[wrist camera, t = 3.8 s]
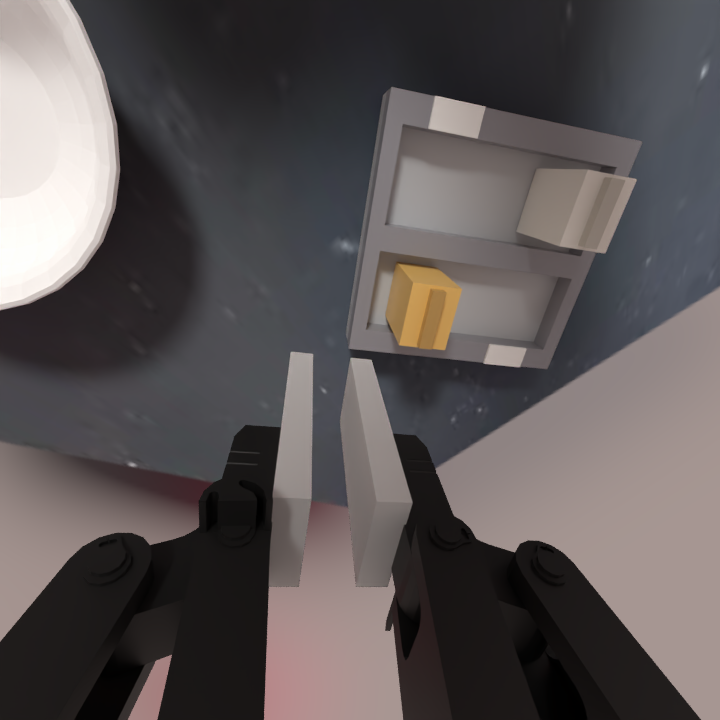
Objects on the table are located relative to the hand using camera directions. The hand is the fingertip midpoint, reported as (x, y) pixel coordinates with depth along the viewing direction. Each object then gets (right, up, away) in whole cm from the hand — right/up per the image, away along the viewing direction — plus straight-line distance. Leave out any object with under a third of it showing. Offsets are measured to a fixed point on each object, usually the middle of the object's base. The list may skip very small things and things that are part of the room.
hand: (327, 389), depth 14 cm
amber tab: (+5, +6, +14) cm, 16 cm away
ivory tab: (+14, +12, +12) cm, 22 cm away
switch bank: (+9, +10, +15) cm, 20 cm away
